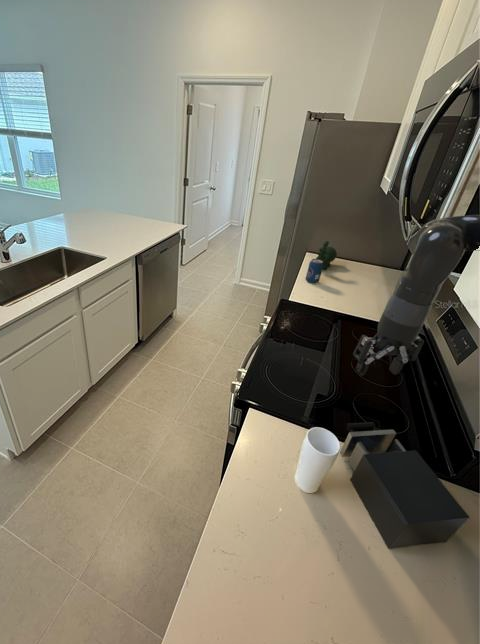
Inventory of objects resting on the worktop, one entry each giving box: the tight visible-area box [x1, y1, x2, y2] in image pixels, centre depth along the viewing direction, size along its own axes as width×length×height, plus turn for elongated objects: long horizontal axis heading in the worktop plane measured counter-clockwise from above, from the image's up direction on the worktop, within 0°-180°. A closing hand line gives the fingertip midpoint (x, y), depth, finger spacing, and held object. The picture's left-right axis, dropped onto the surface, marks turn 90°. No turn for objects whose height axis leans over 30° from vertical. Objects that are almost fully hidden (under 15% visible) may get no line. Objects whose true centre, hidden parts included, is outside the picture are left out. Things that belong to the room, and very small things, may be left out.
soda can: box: [305, 258, 323, 285], centre depth 163 cm, size 7×7×12 cm
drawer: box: [339, 421, 407, 472], centre depth 71 cm, size 16×11×8 cm
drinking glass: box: [294, 426, 341, 494], centre depth 67 cm, size 7×7×15 cm
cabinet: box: [349, 449, 470, 550], centre depth 64 cm, size 14×13×10 cm
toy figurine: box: [315, 240, 338, 271], centre depth 181 cm, size 9×19×25 cm
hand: (376, 372), depth 73 cm, fingers open, 8 cm apart
